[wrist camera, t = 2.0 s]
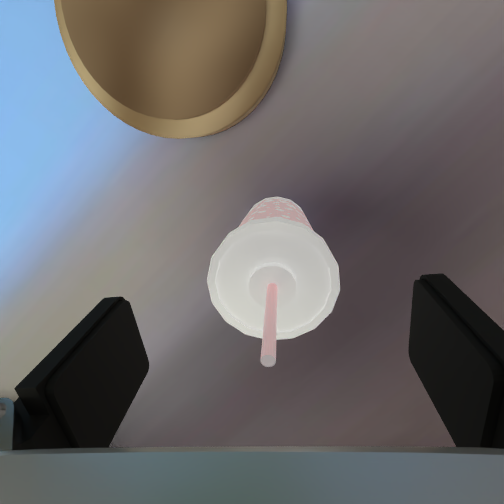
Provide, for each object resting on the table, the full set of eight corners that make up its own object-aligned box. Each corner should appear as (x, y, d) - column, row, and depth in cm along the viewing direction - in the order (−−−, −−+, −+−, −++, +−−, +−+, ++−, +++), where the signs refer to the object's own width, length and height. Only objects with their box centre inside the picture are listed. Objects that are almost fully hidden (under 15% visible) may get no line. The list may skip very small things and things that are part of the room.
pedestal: (323, -45, 17) (334, -95, 13) (240, 166, 21) (231, 174, 17) (111, -151, 16) (60, -236, 12) (71, 91, 20) (24, 83, 17)
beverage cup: (313, 269, 24) (353, 441, 11) (233, 263, 24) (176, 422, 11) (323, 187, 21) (389, 279, 8) (234, 183, 22) (164, 263, 9)
